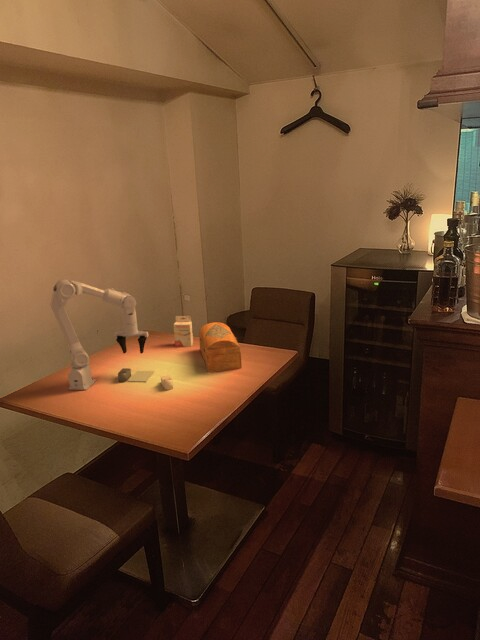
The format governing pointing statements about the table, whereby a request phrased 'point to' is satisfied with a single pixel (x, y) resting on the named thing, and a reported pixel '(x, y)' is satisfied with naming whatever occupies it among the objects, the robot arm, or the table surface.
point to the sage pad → (141, 376)
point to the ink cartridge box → (183, 331)
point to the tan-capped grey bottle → (124, 374)
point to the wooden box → (219, 347)
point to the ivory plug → (166, 382)
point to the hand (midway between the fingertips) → (133, 352)
